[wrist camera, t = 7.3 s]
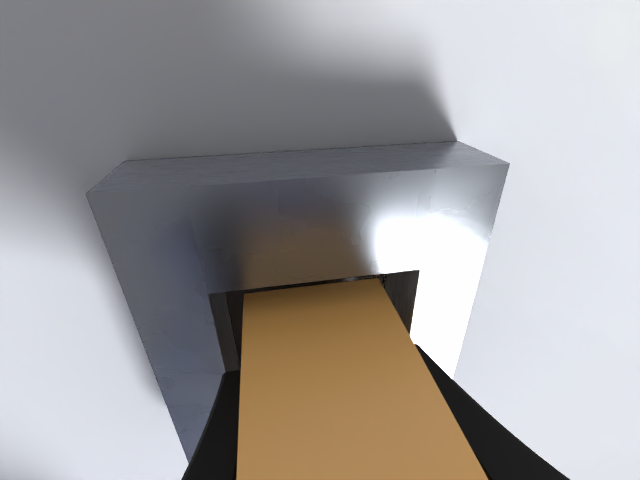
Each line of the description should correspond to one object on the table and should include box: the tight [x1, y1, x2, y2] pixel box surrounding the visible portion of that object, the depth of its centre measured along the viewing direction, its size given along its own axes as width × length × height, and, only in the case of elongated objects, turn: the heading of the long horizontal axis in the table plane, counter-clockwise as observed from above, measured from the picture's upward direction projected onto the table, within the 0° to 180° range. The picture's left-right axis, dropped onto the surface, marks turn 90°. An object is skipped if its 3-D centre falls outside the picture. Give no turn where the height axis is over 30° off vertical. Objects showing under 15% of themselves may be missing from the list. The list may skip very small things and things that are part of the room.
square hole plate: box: [86, 141, 510, 463], centre depth 12 cm, size 10×12×2 cm
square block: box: [236, 278, 488, 480], centre depth 9 cm, size 4×4×7 cm
